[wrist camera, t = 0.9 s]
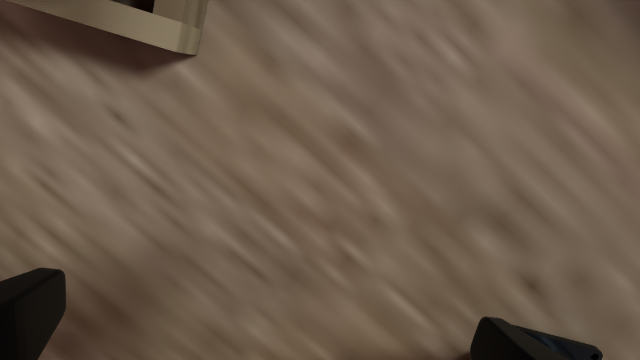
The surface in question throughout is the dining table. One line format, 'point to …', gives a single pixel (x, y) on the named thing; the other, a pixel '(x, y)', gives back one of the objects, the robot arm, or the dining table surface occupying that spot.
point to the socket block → (135, 20)
